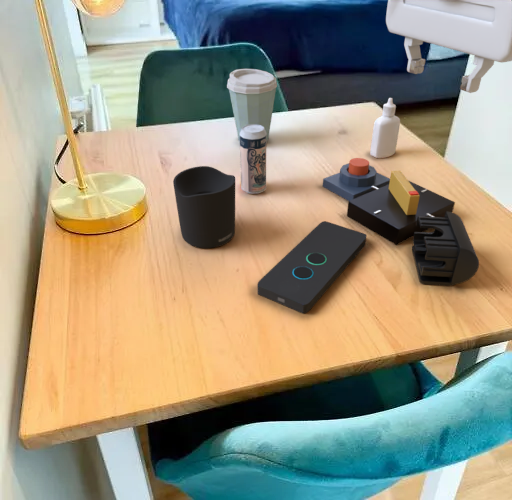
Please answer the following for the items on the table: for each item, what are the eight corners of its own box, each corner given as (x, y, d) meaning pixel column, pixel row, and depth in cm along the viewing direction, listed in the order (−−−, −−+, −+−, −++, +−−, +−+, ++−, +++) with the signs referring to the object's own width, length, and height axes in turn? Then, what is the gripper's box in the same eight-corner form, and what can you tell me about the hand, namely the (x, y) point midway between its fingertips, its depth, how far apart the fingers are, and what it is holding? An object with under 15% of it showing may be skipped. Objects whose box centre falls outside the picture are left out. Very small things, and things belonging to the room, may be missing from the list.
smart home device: (254, 283, 69) (322, 219, 83) (254, 293, 70) (321, 228, 84) (307, 305, 66) (369, 234, 79) (306, 315, 67) (368, 243, 80)
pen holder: (180, 253, 78) (174, 197, 72) (178, 221, 86) (172, 168, 80) (240, 247, 79) (239, 191, 74) (233, 217, 87) (231, 163, 81)
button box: (359, 172, 101) (361, 156, 99) (390, 187, 95) (393, 170, 93) (322, 186, 96) (323, 169, 94) (352, 203, 91) (354, 186, 89)
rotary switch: (396, 190, 94) (398, 175, 93) (456, 220, 86) (460, 203, 84) (342, 213, 88) (343, 197, 86) (401, 248, 79) (405, 231, 77)
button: (357, 166, 96) (359, 156, 95) (372, 173, 93) (373, 162, 92) (344, 171, 94) (345, 161, 93) (358, 178, 92) (359, 168, 91)
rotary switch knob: (388, 188, 89) (391, 169, 86) (397, 188, 89) (400, 168, 86) (406, 215, 81) (410, 194, 79) (416, 214, 81) (420, 194, 79)
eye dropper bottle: (367, 150, 109) (374, 94, 102) (393, 149, 109) (402, 94, 102) (371, 158, 106) (378, 102, 99) (398, 158, 106) (407, 101, 99)
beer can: (254, 198, 92) (253, 135, 85) (235, 189, 95) (233, 128, 88) (271, 188, 95) (272, 127, 88) (253, 181, 98) (252, 121, 91)
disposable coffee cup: (280, 134, 117) (282, 68, 108) (271, 154, 108) (272, 83, 99) (236, 131, 119) (234, 65, 110) (223, 149, 110) (220, 80, 101)
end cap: (472, 289, 71) (484, 250, 67) (420, 286, 71) (429, 247, 67) (457, 249, 79) (467, 211, 75) (410, 246, 79) (418, 209, 76)
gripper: (563, -31, 53) (524, 99, 61) (421, -46, 68) (404, 60, 76) (524, -27, 51) (489, 108, 59) (385, -44, 65) (371, 66, 73)
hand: (440, 81), depth 67 cm, fingers open, 8 cm apart
